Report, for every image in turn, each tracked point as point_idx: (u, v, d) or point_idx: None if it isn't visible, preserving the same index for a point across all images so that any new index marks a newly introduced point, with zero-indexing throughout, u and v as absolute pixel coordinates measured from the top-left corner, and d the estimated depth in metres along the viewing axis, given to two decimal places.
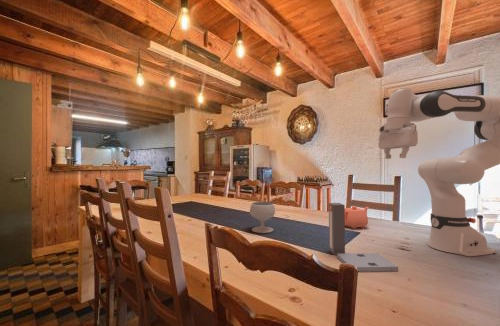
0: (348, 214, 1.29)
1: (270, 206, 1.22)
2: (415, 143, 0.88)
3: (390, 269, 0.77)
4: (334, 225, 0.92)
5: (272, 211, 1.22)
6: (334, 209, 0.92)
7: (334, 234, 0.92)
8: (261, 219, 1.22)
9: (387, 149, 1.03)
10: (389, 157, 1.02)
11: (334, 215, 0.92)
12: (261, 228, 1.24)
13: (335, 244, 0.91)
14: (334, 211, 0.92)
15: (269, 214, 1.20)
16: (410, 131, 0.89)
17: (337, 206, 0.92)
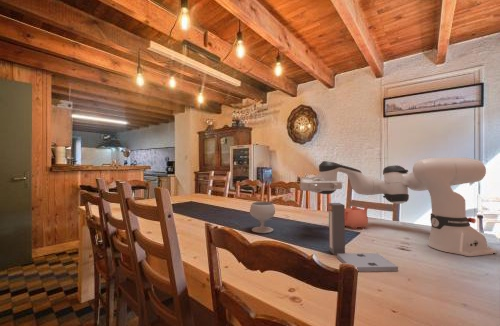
0: (348, 214, 1.29)
1: (270, 206, 1.22)
2: (341, 186, 1.12)
3: (390, 269, 0.77)
4: (334, 225, 0.92)
5: (272, 211, 1.22)
6: (334, 209, 0.92)
7: (334, 234, 0.92)
8: (261, 219, 1.22)
9: None
10: None
11: (334, 215, 0.92)
12: (261, 228, 1.24)
13: (335, 244, 0.91)
14: (334, 211, 0.92)
15: (269, 214, 1.20)
16: None
17: (337, 206, 0.92)
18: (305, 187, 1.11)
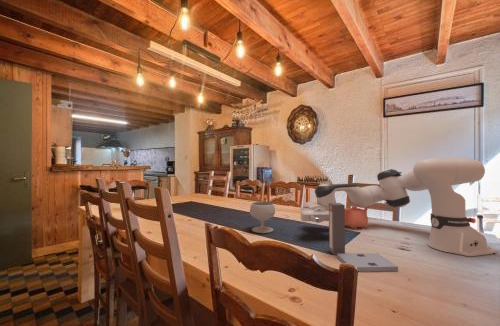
0: (348, 214, 1.29)
1: (270, 206, 1.22)
2: None
3: (390, 269, 0.77)
4: (334, 225, 0.92)
5: (272, 211, 1.22)
6: (334, 209, 0.92)
7: (334, 234, 0.92)
8: (261, 219, 1.22)
9: None
10: None
11: (334, 215, 0.92)
12: (261, 228, 1.24)
13: (335, 244, 0.91)
14: (334, 211, 0.92)
15: (269, 214, 1.20)
16: None
17: (337, 206, 0.92)
18: (306, 219, 1.09)
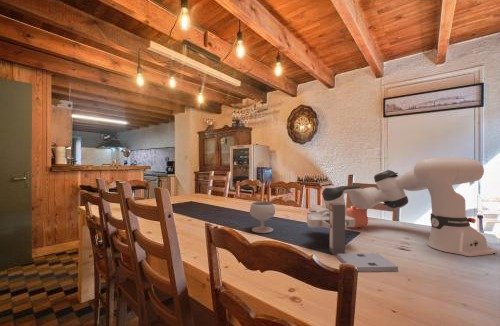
0: (348, 214, 1.29)
1: (270, 206, 1.22)
2: (354, 224, 0.99)
3: (390, 269, 0.77)
4: (334, 225, 0.92)
5: (272, 211, 1.22)
6: (334, 209, 0.92)
7: (334, 234, 0.92)
8: (261, 219, 1.22)
9: None
10: None
11: (334, 215, 0.92)
12: (261, 228, 1.24)
13: (335, 244, 0.91)
14: (334, 211, 0.92)
15: (269, 214, 1.20)
16: None
17: (337, 206, 0.92)
18: (313, 225, 0.98)
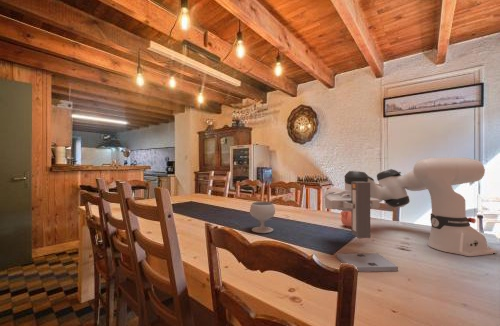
0: (348, 214, 1.29)
1: (270, 206, 1.22)
2: None
3: (390, 269, 0.77)
4: (358, 205, 0.82)
5: (272, 211, 1.22)
6: (358, 187, 0.82)
7: (358, 215, 0.82)
8: (261, 219, 1.22)
9: None
10: None
11: (358, 194, 0.82)
12: (261, 228, 1.24)
13: (359, 226, 0.82)
14: (358, 189, 0.82)
15: (269, 214, 1.20)
16: None
17: (362, 184, 0.82)
18: (334, 206, 0.88)
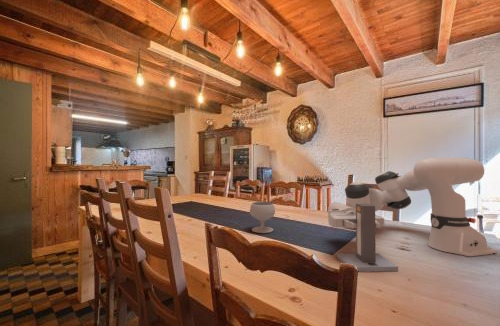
0: None
1: (270, 206, 1.22)
2: None
3: (390, 269, 0.77)
4: (363, 229, 0.81)
5: (272, 211, 1.22)
6: (363, 211, 0.81)
7: (363, 239, 0.81)
8: (261, 219, 1.22)
9: None
10: None
11: (363, 217, 0.81)
12: (261, 228, 1.24)
13: (364, 250, 0.81)
14: (363, 213, 0.81)
15: (269, 214, 1.20)
16: None
17: (367, 207, 0.81)
18: (338, 225, 0.87)
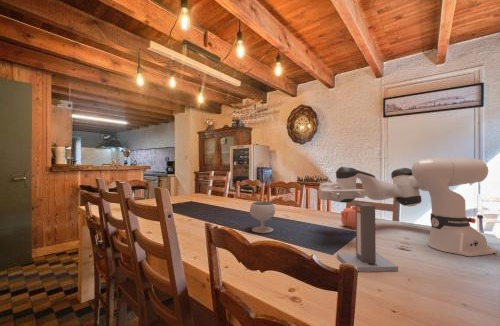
0: (348, 214, 1.29)
1: (270, 206, 1.22)
2: None
3: (390, 269, 0.77)
4: (363, 229, 0.81)
5: (272, 211, 1.22)
6: (363, 211, 0.81)
7: (363, 239, 0.81)
8: (261, 219, 1.22)
9: None
10: None
11: (363, 217, 0.81)
12: (261, 228, 1.24)
13: (364, 250, 0.81)
14: (363, 213, 0.81)
15: (269, 214, 1.20)
16: None
17: (367, 207, 0.81)
18: (326, 196, 1.02)
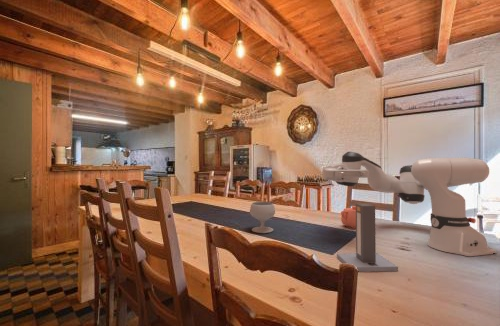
0: (348, 214, 1.29)
1: (270, 206, 1.22)
2: None
3: (390, 269, 0.77)
4: (363, 229, 0.81)
5: (272, 211, 1.22)
6: (363, 211, 0.81)
7: (363, 239, 0.81)
8: (261, 219, 1.22)
9: None
10: None
11: (363, 217, 0.81)
12: (261, 228, 1.24)
13: (364, 250, 0.81)
14: (363, 213, 0.81)
15: (269, 214, 1.20)
16: None
17: (367, 207, 0.81)
18: (330, 175, 1.05)
